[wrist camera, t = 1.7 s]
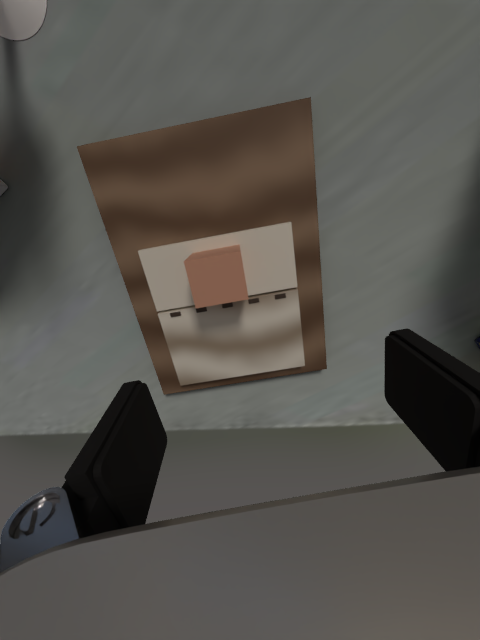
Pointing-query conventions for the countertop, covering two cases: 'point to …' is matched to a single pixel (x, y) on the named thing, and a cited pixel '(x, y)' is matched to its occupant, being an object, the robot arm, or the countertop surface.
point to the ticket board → (210, 220)
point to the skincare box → (2, 187)
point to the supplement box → (478, 342)
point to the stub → (221, 267)
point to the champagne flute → (21, 18)
